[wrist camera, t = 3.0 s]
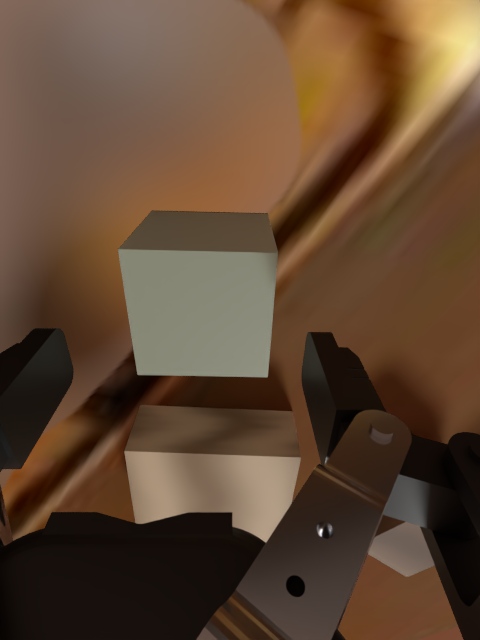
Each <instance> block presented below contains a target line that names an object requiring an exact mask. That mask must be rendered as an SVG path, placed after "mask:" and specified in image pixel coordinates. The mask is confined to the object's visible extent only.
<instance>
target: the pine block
mask: <svg viewBox="0 0 480 640" xmlns="http://www.w3.org/2000/svg"><path fill="white" fill-rule="evenodd" d="M124 453H125V459H126V465H127V472H128V478H129V484H130V491H131V497H132V503H133V510H134V516H135V522H136V523H137V524H144V523H148V522H152V521H156V520H160V519H164V518H168V517H172V516H176V515H180V514H184V513H188V512H233V513H232V527H236V528H239V529H242V530H245V531H247V532H249V533H252V534H253V535H255V536H257V537H258V538H260V539H262V540H263V541H264V542H267V541H268V539H269V538H270V536H271V534H272V533H273V531H274V530H275V528H276V527H277V525H278V524H279V522H280V521H281V519H282V518H283V516H284V514H285V513H286V511H287V510H288V508H289V507H290V505H291V502H292V498H293V493H294V488H295V484H296V479H297V474H298V470H299V465H300V460H301V454H300V449H299V443H298V438H297V432H296V426H295V421H294V415H293V411H274V410H250V409H226V408H202V407H178V406H154V405H140V406H139V409H138V412H137V415H136V418H135V421H134V424H133V427H132V430H131V433H130V436H129V439H128V442H127V445H126V447H125V450H124Z"/></svg>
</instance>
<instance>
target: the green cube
mask: <svg viewBox="0 0 480 640" xmlns="http://www.w3.org/2000/svg"><path fill="white" fill-rule="evenodd" d="M118 251H119V259H120V265H121V272H122V278H123V285H124V291H125V298H126V304H127V310H128V317H129V323H130V330H131V337H132V343H133V349H134V356H135V362H136V369H137V375H172V376H224V377H268V369H269V356H270V344H271V332H272V319H273V307H274V295H275V283H276V270H277V258H278V251H277V248H276V244H275V240H274V236H273V232H272V229H271V225H270V221H269V217H268V214H267V213H233V212H194V211H151V212H150V214H149V215H148V216H147V217H146V218H145V219H144V220H143V222H142V223H141V224H140V225H139V226H138V227H137V228H136V229H135V230H134V232H133V233H132V234H131V235H130V236H129V237H128V238H127V240H126V241H125V242H124V243H123V244H122V245H121V246H120V248H119V249H118Z"/></svg>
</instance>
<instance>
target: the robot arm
mask: <svg viewBox="0 0 480 640" xmlns="http://www.w3.org/2000/svg"><path fill="white" fill-rule="evenodd" d="M72 379H73V365H72V362H71V358H70V354H69V350H68V347H67V343H66V339H65V335H64V333H63V331H62V330H61V329H57V328H35V329H33V330H32V331H31V332H30V333H29V334H28V335H27V336H26V337H25V338H24V339H23V340H22V342H21V343H17V344H15V345H13V346H12V347H10V348H8V349H7V350H5V351H3V352H2V353H0V472H1V470H2V469H21V468H22V466H23V465H24V463H25V461H26V460H27V458H28V456H29V454H30V453H31V451H32V449H33V448H34V446H35V444H36V443H37V441H38V439H39V438H40V436H41V434H42V433H43V431H44V429H45V427H46V426H47V424H48V422H49V421H50V419H51V417H52V416H53V414H54V412H55V411H56V409H57V407H58V406H59V404H60V402H61V401H62V399H63V397H64V395H65V394H66V392H67V391H68V389H69V387H70V385H71V383H72ZM302 387H303V391H304V395H305V399H306V403H307V407H308V411H309V416H310V420H311V424H312V428H313V432H314V436H315V440H316V444H317V448H318V452H319V456H320V460H321V464H322V465H321V464H319V465H317V466H316V468H315V469H314V470H313V472H312V473H311V475H310V476H309V478H308V479H307V481H306V482H305V484H304V485H303V487H302V488H301V490H300V491H299V493H298V495H297V496H296V498H295V499H294V501H293V502H292V504H291V505H290V507H289V508H288V510H287V511H286V513H285V514H284V516H283V518H282V519H281V521H280V522H279V524H278V525H277V527H276V528H275V530H274V531H273V533H272V534H271V536H270V538H269V539H268V541H267V542H264V541H263V540H262V539H260V538H258V537H257V536H255V535H253V534H252V533H249V532H247V531H245V530H242V529H239V528H236V527H232V513H233V512H188V513H184V514H180V515H176V516H172V517H168V518H164V519H160V520H156V521H152V522H148V523H144V524H137V523H133V522H129V521H126V520H122V519H118V518H115V517H111V516H108V515H104V514H101V513H97V512H52V513H51V515H50V517H49V519H48V522H47V524H46V526H45V528H44V529H40V530H37V531H35V532H32V533H29V534H27V535H25V536H22V537H20V538H18V539H16V540H14V541H13V538H12V534H11V530H10V525H9V521H8V517H7V512H6V508H5V504H4V499H3V495H2V491H1V486H0V640H345V638H344V637H343V636H342V634H341V633H340V632H339V631H338V628H339V625H340V623H341V620H342V618H343V615H344V613H345V610H346V608H347V605H348V603H349V600H350V598H351V595H352V593H353V590H354V587H355V585H356V582H357V580H358V577H359V575H360V572H361V570H362V567H363V565H364V562H365V560H366V557H367V555H368V552H369V550H370V547H371V545H372V542H373V540H374V537H375V535H376V532H377V530H378V527H379V525H380V522H381V520H382V517H383V515H386V516H389V517H392V518H395V519H398V520H402V521H405V522H408V523H411V524H414V525H417V526H420V528H421V531H422V533H423V536H424V538H425V541H426V544H427V546H428V549H429V551H430V554H431V557H432V559H433V562H434V564H435V567H436V570H437V572H438V575H439V577H440V580H441V583H442V585H443V588H444V590H445V593H446V595H447V598H448V601H449V603H450V606H451V608H452V611H453V614H454V616H455V619H456V621H457V624H458V627H459V629H460V632H461V634H462V637H463V639H464V640H480V435H479V434H475V433H469V432H462V433H457V434H455V435H453V436H452V437H451V438H450V440H449V442H448V444H444V443H440V442H436V441H432V440H428V439H424V438H421V437H417V436H415V435H412V434H411V432H410V430H409V429H408V427H407V426H406V425H405V424H404V423H403V422H402V421H401V420H400V419H399V418H397V417H395V416H394V415H392V414H390V413H387V412H386V410H385V408H384V406H383V404H382V402H381V400H380V398H379V396H378V394H377V393H376V391H375V389H374V387H373V385H372V383H371V381H370V380H369V377H368V375H367V373H366V371H365V370H364V367H363V365H362V363H361V361H360V359H359V357H358V356H357V355H356V354H354V353H353V352H352V351H351V350H350V349H349V348H344V347H338V345H337V343H336V341H335V339H334V336H333V334H332V333H331V332H308V334H307V338H306V345H305V352H304V359H303V366H302Z"/></svg>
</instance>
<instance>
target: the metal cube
mask: <svg viewBox="0 0 480 640" xmlns="http://www.w3.org/2000/svg"><path fill="white" fill-rule="evenodd" d="M368 554H369V555H371V556H373V557H374V558H376V559H378V560H379V561H381V562H383V563H384V564H386V565H388V566H389V567H391V568H392V569H394V570H396V571H397V572H399V573H401V574H402V575H404V576H406V577H408V576H411V575H413V574H416V573H418V572H420V571H423V570H425V569H427V568H430V567H432V566H435V564H434V562H433V559H432V557H431V554H430V551H429V549H428V546H427V544H426V541H425V538H424V536H423V533H422V531H421V528H420V526H417V525H414V524H411V523H408V522H405V521H402V520H398V519H395V518H392V517H389V516H386V515H383V517H382V520H381V522H380V525H379V527H378V530H377V532H376V535H375V537H374V540H373V542H372V545H371V547H370V550H369V552H368Z"/></svg>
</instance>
